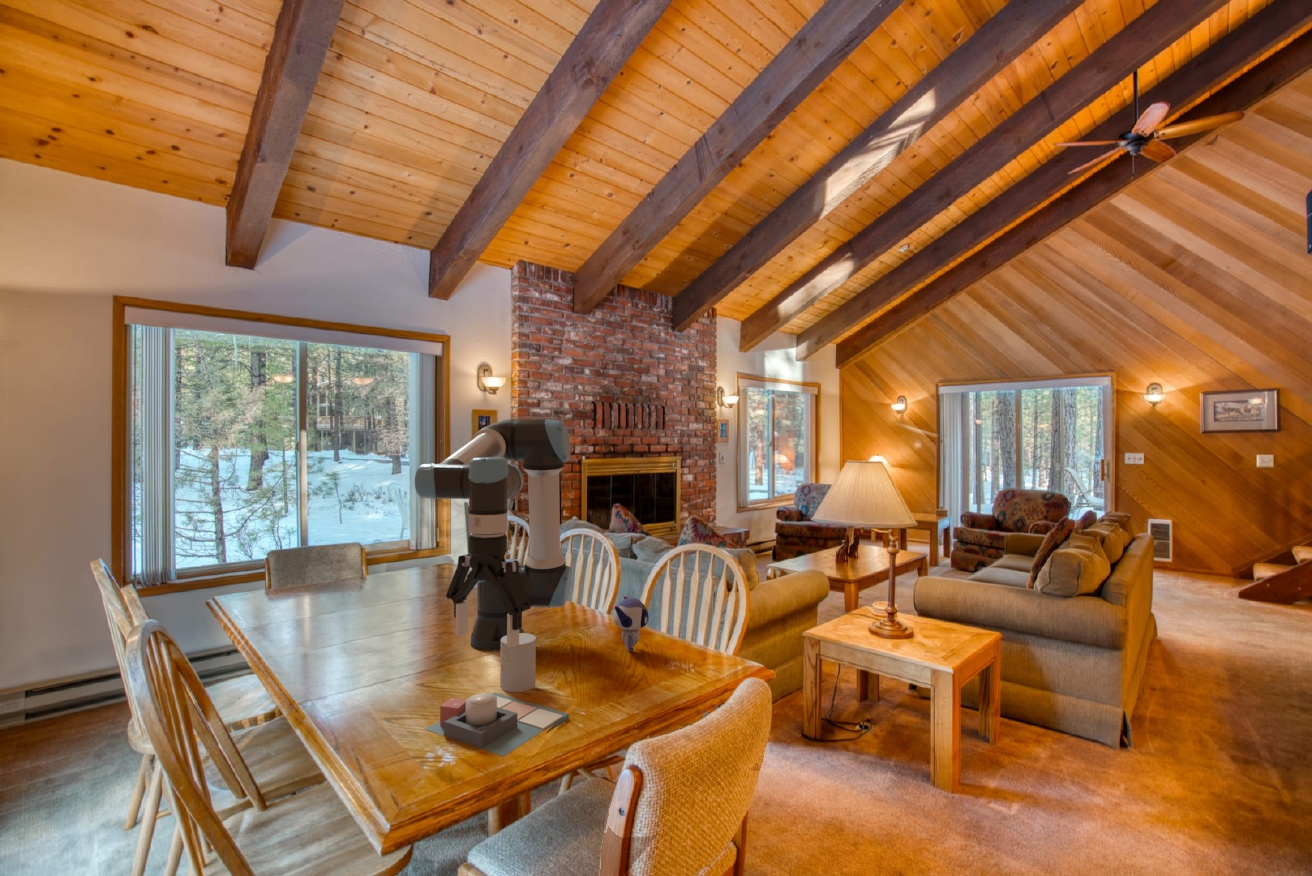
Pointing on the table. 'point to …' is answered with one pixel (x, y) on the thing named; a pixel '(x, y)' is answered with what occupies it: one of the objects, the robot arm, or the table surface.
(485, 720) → the dome
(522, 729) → the board
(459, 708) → the die
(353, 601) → the table surface
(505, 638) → the white cylinder
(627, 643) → the toy
